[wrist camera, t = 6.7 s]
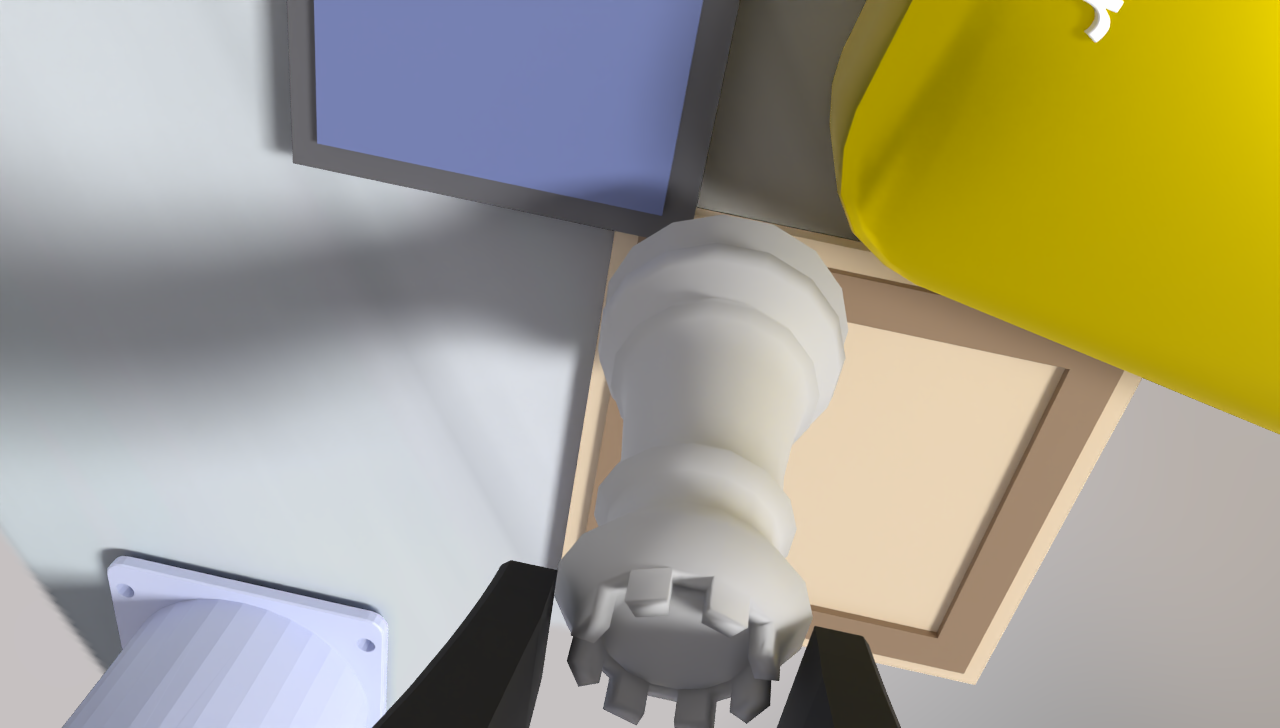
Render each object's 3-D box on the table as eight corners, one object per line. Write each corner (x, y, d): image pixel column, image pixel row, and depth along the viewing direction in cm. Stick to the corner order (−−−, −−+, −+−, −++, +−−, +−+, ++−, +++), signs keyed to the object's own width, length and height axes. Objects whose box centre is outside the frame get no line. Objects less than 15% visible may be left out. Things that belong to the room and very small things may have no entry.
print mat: (972, 672, 24) (976, 691, 24) (559, 580, 25) (554, 596, 24) (1168, 306, 18) (1179, 321, 18) (623, 191, 19) (618, 203, 18)
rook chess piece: (560, 306, 18) (416, 646, 12) (724, 150, 16) (659, 468, 9) (725, 442, 19) (679, 815, 13) (899, 317, 17) (948, 696, 11)
